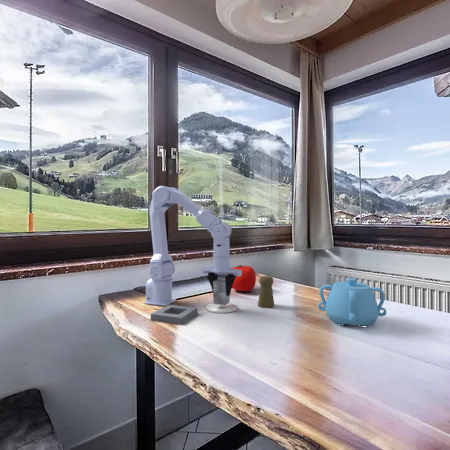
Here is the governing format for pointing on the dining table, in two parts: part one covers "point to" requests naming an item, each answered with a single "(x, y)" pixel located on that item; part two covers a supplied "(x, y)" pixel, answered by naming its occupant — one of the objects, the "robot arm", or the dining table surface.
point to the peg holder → (166, 315)
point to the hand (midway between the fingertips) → (221, 294)
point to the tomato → (244, 279)
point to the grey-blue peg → (220, 292)
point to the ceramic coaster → (221, 308)
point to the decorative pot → (352, 303)
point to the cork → (266, 292)
